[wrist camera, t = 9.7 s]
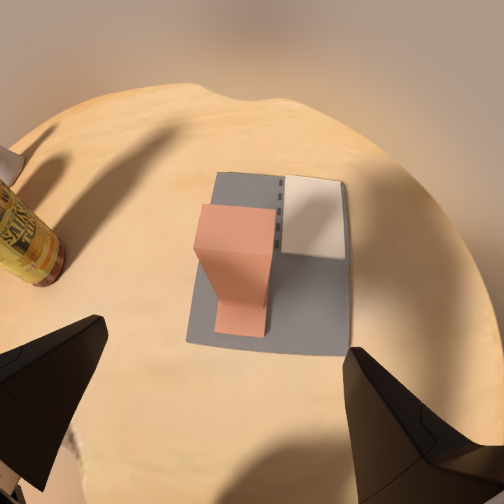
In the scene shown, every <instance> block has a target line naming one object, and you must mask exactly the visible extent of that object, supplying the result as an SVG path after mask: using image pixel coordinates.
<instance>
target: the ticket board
mask: <svg viewBox="0 0 504 504" xmlns="http://www.w3.org/2000/svg"><path fill="white" fill-rule="evenodd" d="M210 204H212V205H226V206H239V207H251V208H262V209H273V210H276V214H275V228H274V241H273V253H272V260H271V266H270V276H269V288H268V299H267V309H266V320H265V330H264V338H258V337H248V336H239V335H230V334H222V333H215V332H214V330H215V322H216V315H217V308H218V301H219V299H218V297H217V295H216V293H215V291H214V289H213V287H212V285H211V283H210V281H209V279H208V277H207V275H206V273H205V271H204V269H203V267H202V265H201V263H200V261H199V264H198V269H197V275H196V280H195V286H194V292H193V298H192V304H191V310H190V317H189V323H188V330H187V337H186V342H188V343H193V344H199V345H206V346H213V347H220V348H228V349H236V350H245V351H255V352H266V353H278V354H293V355H312V356H346V355H347V352H348V346H349V318H350V271H349V243H348V226H347V212H346V200H345V189H344V185H343V184H340V181H333V180H326V179H318V178H311V177H302V176H294V175H286V176H285V177H278V176H268V175H256V174H243V173H228V172H217V176H216V181H215V185H214V190H213V194H212V199H211V203H210Z"/></svg>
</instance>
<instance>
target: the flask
mask: <svg viewBox="0 0 504 504" xmlns="http://www.w3.org/2000/svg"><path fill="white" fill-rule="evenodd" d="M24 161H25V158H24V157H23V156H20V155H18V154H16V153H14V152H12V151H10V150H8V149H6V148H4V147H2V146H0V178H1V180H2V181H3V182H4V183H5V184H6V185H7V186H8V187H10V186H11V185H13V183H14V181H15V180H16V178H17V177H18V175H19V174H20V172H21V171H22V168H23V164H24Z"/></svg>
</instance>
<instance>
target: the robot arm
mask: <svg viewBox="0 0 504 504" xmlns="http://www.w3.org/2000/svg"><path fill="white" fill-rule="evenodd" d="M107 340H108V330H107V327H106V323H105V319H104V317H103V316H100V315H95V314H94V315H91V316H89V317H86V318H84V319H82V320H79V321H77V322H75V323H72V324H70V325H68V326H66V327H63V328H61V329H59V330H56V331H54V332H52V333H49V334H47V335H45V336H42V337H40V338H38V339H35V340H33V341H31V342H29V343H26V344H24V345H22V346H19V347H17V348H15V349H12V350H10V351H7V352H5V353H2V354H0V504H26V502H25V499H24V496H23V493H22V490H21V486H20V485H18V482H19V480H20V478H21V477H22V478H23V479H24V480H25V481H27V482H28V483H30V484H31V485H32V486H34V487H35V488H37V489H38V490H40V491H41V492H43V491H44V489H45V486H46V483H47V480H48V477H49V474H50V471H51V468H52V466H53V463H54V461H55V458H56V456H57V453H58V450H59V448H60V445H61V443H62V440H63V438H64V436H65V433H66V431H67V429H68V426H69V424H70V422H71V420H72V417H73V415H74V413H75V411H76V409H77V406H78V404H79V402H80V400H81V398H82V396H83V394H84V392H85V390H86V388H87V386H88V384H89V382H90V380H91V378H92V376H93V374H94V372H95V370H96V367H97V365H98V362H99V360H100V357H101V355H102V352H103V350H104V347H105V345H106V342H107ZM343 384H344V400H345V409H346V415H347V421H348V427H349V433H350V440H351V446H352V453H353V460H354V468H355V476H356V484H357V493H358V503H359V504H504V446H485V445H480V444H476V443H474V442H472V441H471V440H469V439H468V438H467V437H465V436H464V435H462V434H461V433H460V432H458V431H457V430H456V429H454V428H453V427H451V426H450V425H449V424H447V423H446V422H445V421H443V420H442V419H441V418H440V417H438V416H437V415H436V414H435V413H434V412H433V411H431V410H430V409H429V408H428V407H427V406H426V405H425V404H424V403H422V402H421V401H420V400H419V399H418V398H417V397H416V396H415V395H414V394H412V393H411V392H410V391H409V390H408V389H407V388H406V387H405V386H404V385H403V384H401V383H400V382H399V381H398V380H397V379H396V378H395V377H394V376H393V375H391V374H390V373H389V372H388V371H387V370H386V369H385V368H384V367H383V366H382V365H380V364H379V363H378V362H377V361H376V360H375V359H374V358H373V357H372V356H370V355H369V354H368V353H367V352H366V351H365V350H364V349H363V348H361V347H350V348H349V350H348V352H347V355H346V358H345V360H344V363H343Z"/></svg>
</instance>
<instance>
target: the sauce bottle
mask: <svg viewBox="0 0 504 504" xmlns="http://www.w3.org/2000/svg"><path fill="white" fill-rule="evenodd" d="M64 256H65V251H64V247H63V245H62V242H61V241H60V239H59V238H58V237H57V235H56V234H55V233H54V232H53V231H52V230H51V229H50V228H49V227H48V226H47V225H46V224H45V223H44V222H43V221H42V220H41V219H39V218H38V217H37V216H36V215H35V214H34V213H33V212H32V211H31V210H30V209H29V208H28V207H27V206H26V205H25V204H24V203H23V202H22V201H21V200H20V199H19V198H18V197H17V195H16V194H15V193H14V192H13V191H12V190H11V189H10V188H9V187H8V186H7V185H6V184H5V183H4V182H3V181H2V180H1V178H0V266H1V267H3V268H4V269H6V270H7V271H9V272H11V273H12V274H14V275H15V276H17V277H19V278H20V279H22V280H24V281H26V282H27V283H30V284H33V285H34V286H38V287H45V286H48V285H50V284H51V283H53V282H54V281H55V280H56V278H57V277H58V275H59V273H60V271H61V269H62V266H63V263H64V259H65V257H64Z"/></svg>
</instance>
